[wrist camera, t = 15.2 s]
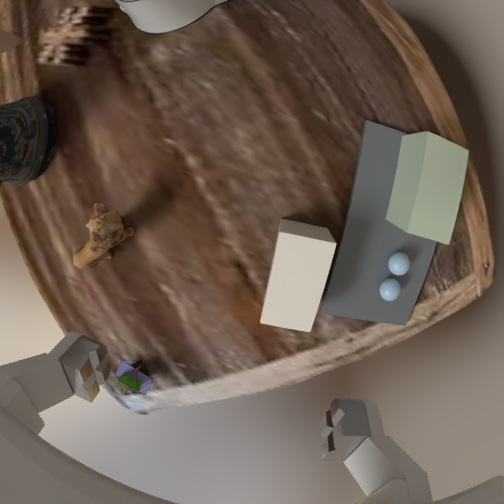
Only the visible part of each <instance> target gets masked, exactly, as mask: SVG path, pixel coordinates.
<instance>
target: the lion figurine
mask: <svg viewBox="0 0 504 504" xmlns="http://www.w3.org/2000/svg"><path fill="white" fill-rule="evenodd" d="M86 226H87V227H88V228H89V230H90V239H89V241H88V242H87V243H86V245H85V247H82V248H80V249H79V250H77V251H76V252H75V253H74V255H73V261H74V262H73V264H74V265H75V266H77V267H78V268H80V269H85V268H89V267H90V268H92V266H93V265H95V264H96V263H98V262H99V261H102V260H104V259H110V258H112V254H111V252H107V251H108V250H109V248H112V247H114V246H116V245H117V244H118V243H120V242H121V241H123V240H124V239H125V238H126V237H128V236H132V235H133V234H134V230H133V229H132V228H131V227H130V228H128V229H126V230H125V231H124V229H123V228H124V225H123V224H122V219H121V217H120V214H119V213H118V212H117V211H116V210H112V211H108V209H107V206H106V205H104V204H101V203H95V204H94V213H93V215H92V219H91V220H90V222H89V223H87V225H86ZM103 254H104V255H103Z"/></svg>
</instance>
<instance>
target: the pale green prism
mask: <svg viewBox="0 0 504 504" xmlns="http://www.w3.org/2000/svg"><path fill="white" fill-rule="evenodd" d="M468 154H469V151H468V150H467V149H465V148H463V147H461V146H459V145H457V144H455V143H453V142H451V141H449V140H446V139H444V138H442V137H440V136H438V135H435V134H433V133H431V132H429V131H425V132H420V133H415V134H410V135H405V136H402V141H401V147H400V153H399V159H398V164H397V170H396V175H395V180H394V185H393V189H392V194H391V198H390V202H389V207H388V211H387V215H386V220H388V221H389V222H391V223H393V224H394V225H396V226H397V227H399V228H401V229H402V230H404V231H405V232H407V233H410V234H414V235H417V236H421V237H424V238H428V239H431V240H434V241H438V242H441V243H444V244H448V245H449V242H450V239H451V235H452V232H453V228H454V224H455V221H456V217H457V213H458V208H459V204H460V200H461V195H462V190H463V185H464V180H465V174H466V168H467V161H468Z"/></svg>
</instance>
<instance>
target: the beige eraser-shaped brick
mask: <svg viewBox="0 0 504 504" xmlns="http://www.w3.org/2000/svg"><path fill="white" fill-rule="evenodd" d="M335 247H336V242H335V240H334V239H333V237H332V235H331V234H330V232H329V230H328V229H327V228H324V227H319V226H315V225H310V224H305V223H301V222H296V221H291V220H286V219H281V221H280V226H279V231H278V236H277V241H276V246H275V250H274V255H273V260H272V265H271V270H270V274H269V279H268V284H267V289H266V293H265V298H264V304H263V309H262V315H261V320H260V323H263V324H268V325H273V326H278V327H284V328H289V329H295V330H300V331H306V332H310V331H311V328H312V325H313V322H314V319H315V316H316V313H317V309H318V306H319V303H320V300H321V297H322V293H323V290H324V287H325V283H326V280H327V276H328V273H329V269H330V266H331V262H332V259H333V255H334V251H335Z"/></svg>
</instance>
